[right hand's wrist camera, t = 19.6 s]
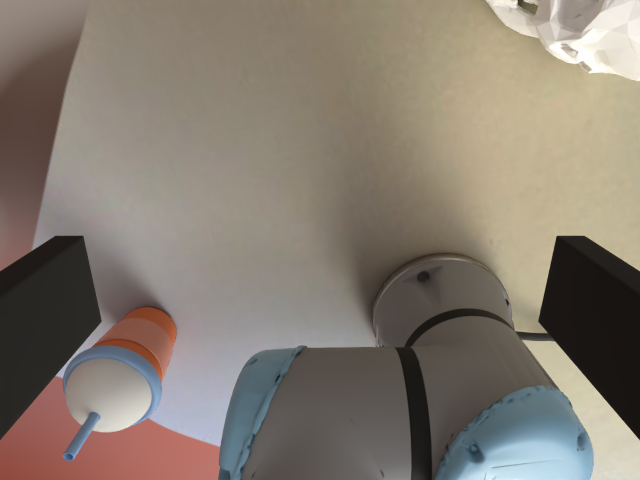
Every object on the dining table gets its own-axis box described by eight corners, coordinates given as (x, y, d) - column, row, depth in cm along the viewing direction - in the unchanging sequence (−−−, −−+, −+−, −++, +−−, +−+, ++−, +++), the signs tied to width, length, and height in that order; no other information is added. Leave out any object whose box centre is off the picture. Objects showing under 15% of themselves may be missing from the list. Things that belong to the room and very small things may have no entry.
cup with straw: (107, 292, 49) (-2, 408, 33) (188, 297, 50) (121, 415, 33) (115, 358, 53) (19, 494, 36) (190, 363, 53) (131, 501, 36)
